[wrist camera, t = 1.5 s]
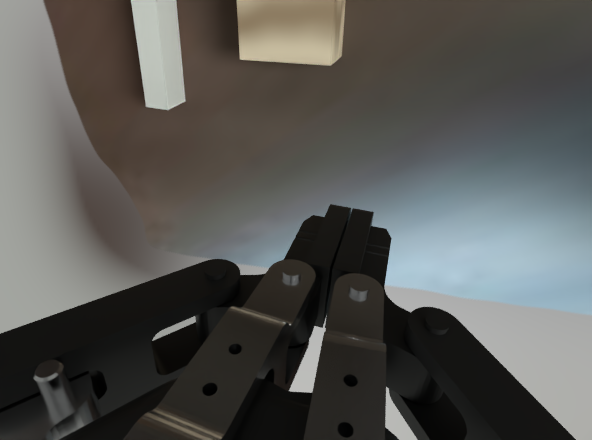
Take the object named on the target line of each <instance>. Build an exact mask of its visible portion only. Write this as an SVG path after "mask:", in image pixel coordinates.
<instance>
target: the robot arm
mask: <svg viewBox="0 0 592 440" xmlns="http://www.w3.org/2000/svg"><path fill="white" fill-rule="evenodd" d="M373 213H374V212H370V211H365V210H359V209H354V208H353V209H352V212H351V208H348V207H342V206H337V205H332V204H331V205H330V206H329V208H328V211H327V213H326V215H325V217H320V216H315V215H313V216H311V217H310V218H308V219H307V220H305V221H304V222H303V224H302V226H301V227H300V229H299V231H298V233H297V235H296V238H295V239H294V241H293V243H292V245H291V247H290V249H289V251H288V252H287V254H286V256H285V258H284V260H282V261H279V262H276V263H274V264H273V265H272V266H271V267H270V268H269V270H268V271H267V272H266V274H262V275H240V270H239V268H238V266H237V265H236V264H234V263H233V262H231V261H228V260H223V259H212V260H208V261H204V262H202V263H199V264H196V265H193V266H190V267H187V268H185V269H182V270H179V271H176V272H173V273H170V274H168V275H165V276H162V277H159V278H156V279H154V280H151V281H148V282H145V283H142V284H139V285H137V286H134V287H131V288H129V289H125V290H122V291H120V292H117V293H114V294H111V295H108V296H105V297H103V298H100V299H97V300H94V301H92V302H88V303H86V304H83V305H80V306H77V307H75V308H72V309H69V310H66V311H63V312H60V313H57V314H55V315H52V316H49V317H46V318H43V319H41V320H38V321H35V322H32V323H29V324H26V325H24V326H21V327H18V328H15V329H12V330H10V331H7V332H4V333H1V334H0V440H399V439H397V437H396V436H395V435H394V434H392V433H391V432H390V431H389V430H388V429H386V428H385V406H386V405H385V404H386V387H388V388H389V393H390V397H391V399H392V401H393V403H394V404H395V406H396V407H397V409H398V410H399V412H400V413H401V415H402V416H403V418H404V419H405V421H406V422H407V424H408V425H409V427H410V428H411V430H412V431H413V433H414V435H415V436H416V437H417V439H418V440H576V439H575V438H574V437H573V436H572V435H571V434H570V433H569V432H568V431H567V430H566V429H565V428H564V427H563V426H562V425H561V424H560V423H559V422H558V421H557V420H556V419H555V418H554V417H553V416H552V415H551V414H550V413H549V412H548V411H547V410H546V409H545V408H544V407H543V406H542V405H541V404H540V403H539V402H538V401H537V400H536V399H535V398H534V397H533V396H532V395H531V394H530V393H529V392H528V391H527V390H526V389H525V388H524V387H523V386H522V385H521V384H520V383H519V382H518V381H517V380H516V379H515V377H513V375H511V373H510V372H509V371H507V369H506V368H505V367H504V366H503V365H502V364H501V363H500V362H499V361H498V360H497V359H496V358H495V357H494V356H493V355H492V354H491V353H490V352H489V351H488V350H487V349H486V348H485V347H484V346H483V345H482V344H481V343H480V342H479V341H478V340H477V339H476V338H475V337H474V336H473V335H472V334H471V333H470V332H469V331H468V330H467V329H466V328H465V327H464V326H463V325H462V324H461V323H460V322H459V321H458V320H457V319H456V318H455V317H454V316H452V315H451V314H449V313H448V312H446V311H443V310H441V309H437V308H433V307H421V308H418V309H415V310H414V311H412V312H411V313H410V312H408V311H406V310H404V309H402V308H400V307H399V306H397V305H395V304H394V303H393V302H392V301H391V300H390V299H389V298H388V297H387V295H386V293H385V289H384V284H385V277H386V271H387V264H388V257H389V250H390V244H391V237H390V235H389V233H388V231H387V229H384V228H378V227H373V226H371V225H372V220H373ZM326 315H327V317H326ZM193 316H195V317H196V322H195V323H193V324H191V325H189V326H186V327H184V328H182V329H179V330H177V331H175V332H172V333H170V334H168V335H166V336H163V337H161V338H159V339H156V340H154V341H152V339H153V337H154V336H155V335H156V334H157V333H158V332H159V331H161V330H163V329H165V328H167V327H170V326H172V325H175V324H176V323H179V322H182V321H184V320H186V319H189V318H191V317H193ZM325 318H326V325H325V328H326V331H325V333H324V336H323V341H322V346H321V352H320V357H319V362H318V367H317V372H316V378H315V383H314V388H313V393H304V392H290V391H289V389H290V387H291V384H292V382H293V380H294V378H295V375H296V373H297V371H298V369H299V366H300V364H301V361H302V359H303V357H304V355H305V352H306V350H307V348H308V345H309V338H310V337H311V334H312V331H313V328H314V326H318V327H323V324H324V321H325Z"/></svg>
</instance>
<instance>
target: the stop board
mask: <svg viewBox="0 0 592 440" xmlns="http://www.w3.org/2000/svg"><path fill="white" fill-rule="evenodd" d="M131 4H132V11H133V18H134V25H135V32H136V39H137V46H138V53H139V60H140V67H141V74H142V81H143V88H144V95H145V102H146V107H151V108H157V109H164V110H169V109H171V108H173V107H175V106H177V105H179V104H181V103H183V102H185V91H184V80H183V69H182V58H181V47H180V36H179V25H178V14H177V3H176V0H131Z"/></svg>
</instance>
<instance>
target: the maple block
mask: <svg viewBox="0 0 592 440" xmlns="http://www.w3.org/2000/svg"><path fill="white" fill-rule="evenodd" d="M344 13H345V0H237V15H238V33H239V51H240V60H254V61H269V62H284V63H299V64H314V65H330V66H331V65H332V64H333V63H335V62H336V61H337V60H338V59H339V58H340V57H341V56H342V43H343V28H344Z"/></svg>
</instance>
